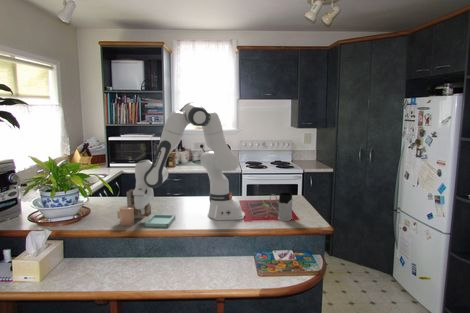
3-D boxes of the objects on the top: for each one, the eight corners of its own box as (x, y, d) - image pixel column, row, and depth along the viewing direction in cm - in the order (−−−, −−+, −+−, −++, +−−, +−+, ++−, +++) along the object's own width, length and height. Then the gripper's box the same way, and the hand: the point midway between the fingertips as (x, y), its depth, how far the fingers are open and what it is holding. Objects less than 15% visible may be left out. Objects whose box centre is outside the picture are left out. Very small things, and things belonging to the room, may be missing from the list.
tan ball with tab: (136, 221, 188) (135, 206, 187) (131, 226, 180) (130, 210, 179) (121, 221, 189) (120, 205, 187) (115, 225, 181) (114, 209, 180)
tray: (175, 217, 195) (175, 214, 194) (168, 227, 179) (167, 223, 179) (154, 217, 196) (153, 214, 195) (144, 226, 180) (144, 223, 179)
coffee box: (146, 215, 199) (145, 189, 197) (142, 218, 193) (141, 192, 190) (131, 214, 200) (130, 189, 198) (127, 218, 194) (126, 191, 191)
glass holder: (290, 221, 189) (290, 196, 187) (266, 218, 195) (267, 193, 193) (294, 217, 197) (295, 193, 195) (271, 214, 203) (272, 190, 201)
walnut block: (150, 213, 190) (150, 205, 189) (147, 216, 185) (147, 208, 184) (142, 213, 190) (142, 205, 190) (139, 216, 185) (139, 207, 185)
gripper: (145, 183, 196) (146, 206, 198) (131, 193, 176) (133, 217, 178) (155, 184, 195) (156, 206, 197) (142, 193, 175) (144, 218, 177)
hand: (145, 211), depth 187 cm, fingers closed on walnut block, 5 cm apart
